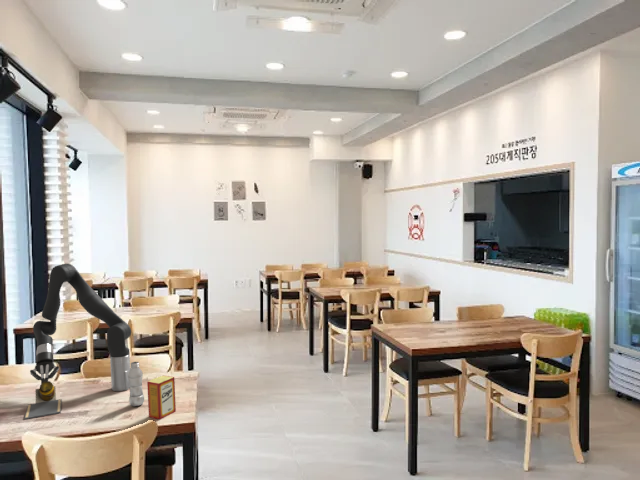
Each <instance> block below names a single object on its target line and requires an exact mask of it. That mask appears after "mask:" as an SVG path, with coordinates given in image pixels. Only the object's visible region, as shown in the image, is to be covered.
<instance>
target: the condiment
mask: <svg viewBox="0 0 640 480" xmlns="http://www.w3.org/2000/svg"><path fill="white" fill-rule="evenodd" d="M56 389H57V388H56V386H54V384H53V382H51V380H48V381H45V382H43V383H42V384H41V383H40V385H39V388H35V403H41V402H46V401H52V400H57V397H56V396H57V394H56V391H57V390H56Z"/></svg>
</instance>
